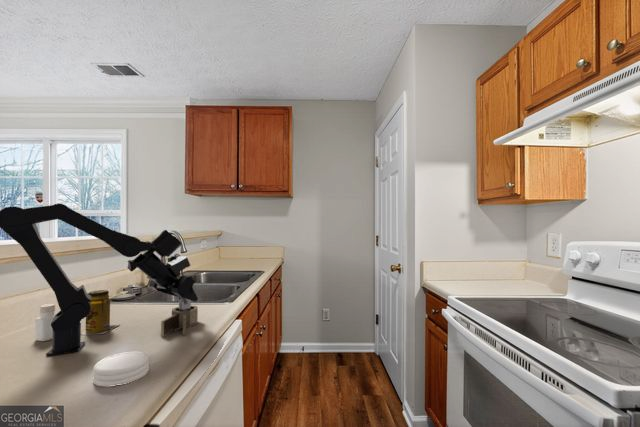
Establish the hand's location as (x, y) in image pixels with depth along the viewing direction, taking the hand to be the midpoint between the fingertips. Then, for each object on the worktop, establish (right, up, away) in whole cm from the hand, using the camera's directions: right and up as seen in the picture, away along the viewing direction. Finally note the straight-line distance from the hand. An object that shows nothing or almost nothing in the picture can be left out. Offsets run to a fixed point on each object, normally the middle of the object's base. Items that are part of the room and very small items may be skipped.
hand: (189, 298), depth 101 cm
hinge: (0, -8, -5) cm, 10 cm away
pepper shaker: (-35, -8, -14) cm, 38 cm away
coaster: (+1, -7, -36) cm, 36 cm away
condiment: (-25, -8, -6) cm, 27 cm away
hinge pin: (-1, -8, -1) cm, 8 cm away
